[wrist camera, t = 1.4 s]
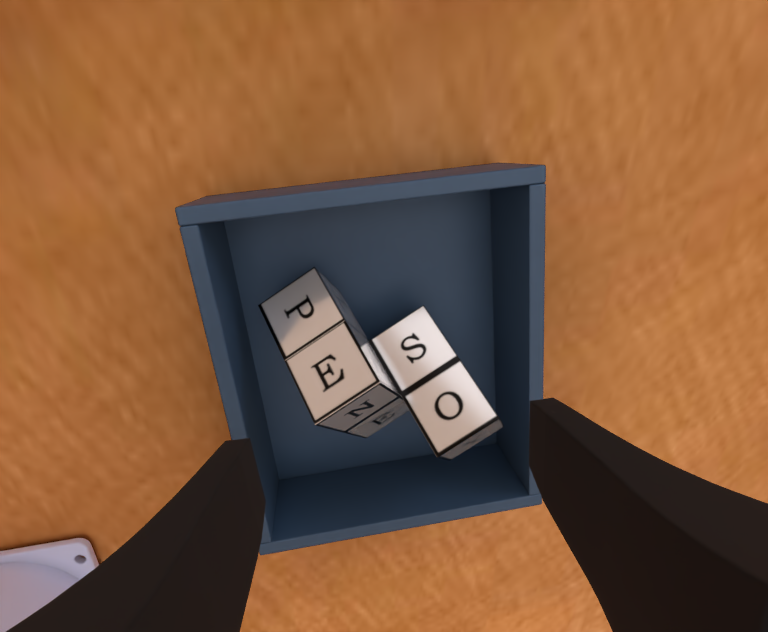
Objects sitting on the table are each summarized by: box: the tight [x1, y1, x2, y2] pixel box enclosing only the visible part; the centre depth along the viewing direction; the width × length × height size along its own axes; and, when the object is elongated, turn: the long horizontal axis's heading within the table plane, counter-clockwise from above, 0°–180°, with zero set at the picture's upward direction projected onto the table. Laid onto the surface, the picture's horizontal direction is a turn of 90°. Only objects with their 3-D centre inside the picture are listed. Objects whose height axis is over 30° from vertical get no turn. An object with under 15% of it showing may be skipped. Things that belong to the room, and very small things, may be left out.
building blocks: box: [258, 267, 504, 461], centre depth 19 cm, size 5×5×8 cm
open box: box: [175, 163, 546, 555], centre depth 20 cm, size 14×12×4 cm
